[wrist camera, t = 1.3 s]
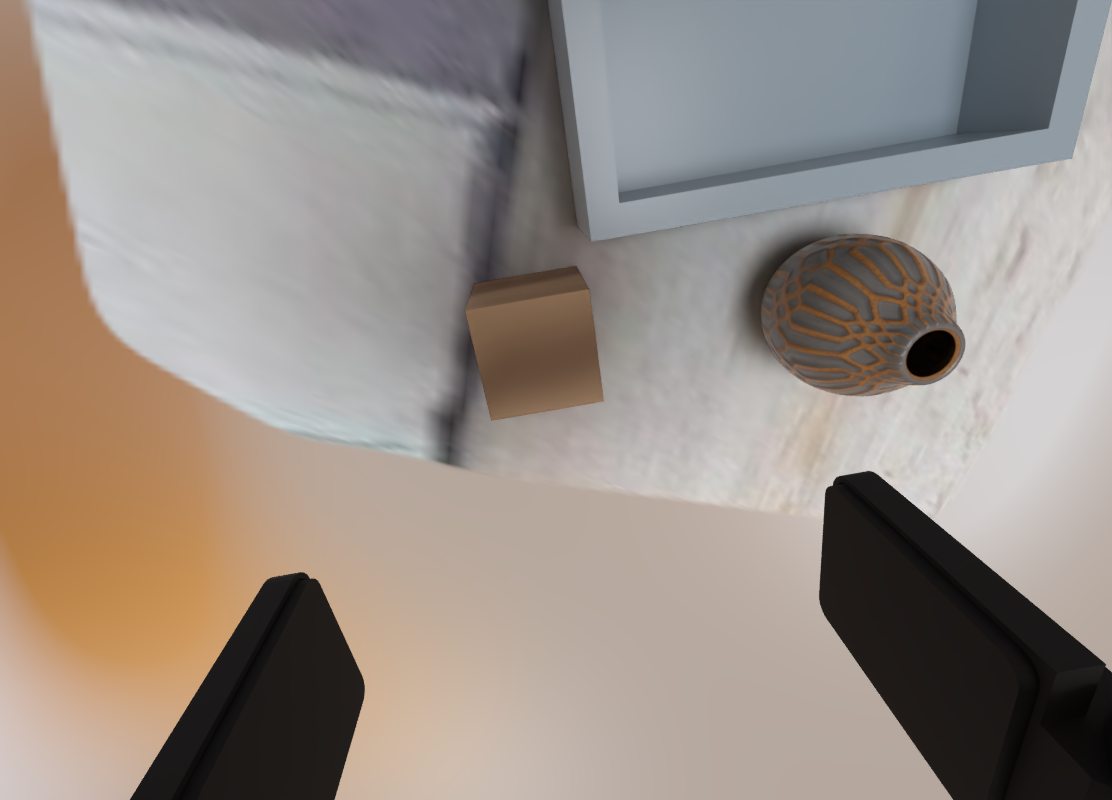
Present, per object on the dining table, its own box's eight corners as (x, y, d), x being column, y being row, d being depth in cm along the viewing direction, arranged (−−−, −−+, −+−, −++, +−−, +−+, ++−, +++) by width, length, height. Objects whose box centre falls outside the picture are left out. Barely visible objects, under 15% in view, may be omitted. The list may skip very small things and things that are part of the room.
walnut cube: (474, 283, 25) (465, 310, 20) (576, 265, 25) (589, 289, 20) (495, 377, 27) (491, 420, 23) (589, 360, 27) (603, 401, 23)
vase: (723, 349, 27) (808, 427, 19) (768, 213, 24) (889, 239, 17) (841, 367, 28) (968, 449, 20) (898, 238, 25) (1071, 275, 17)
